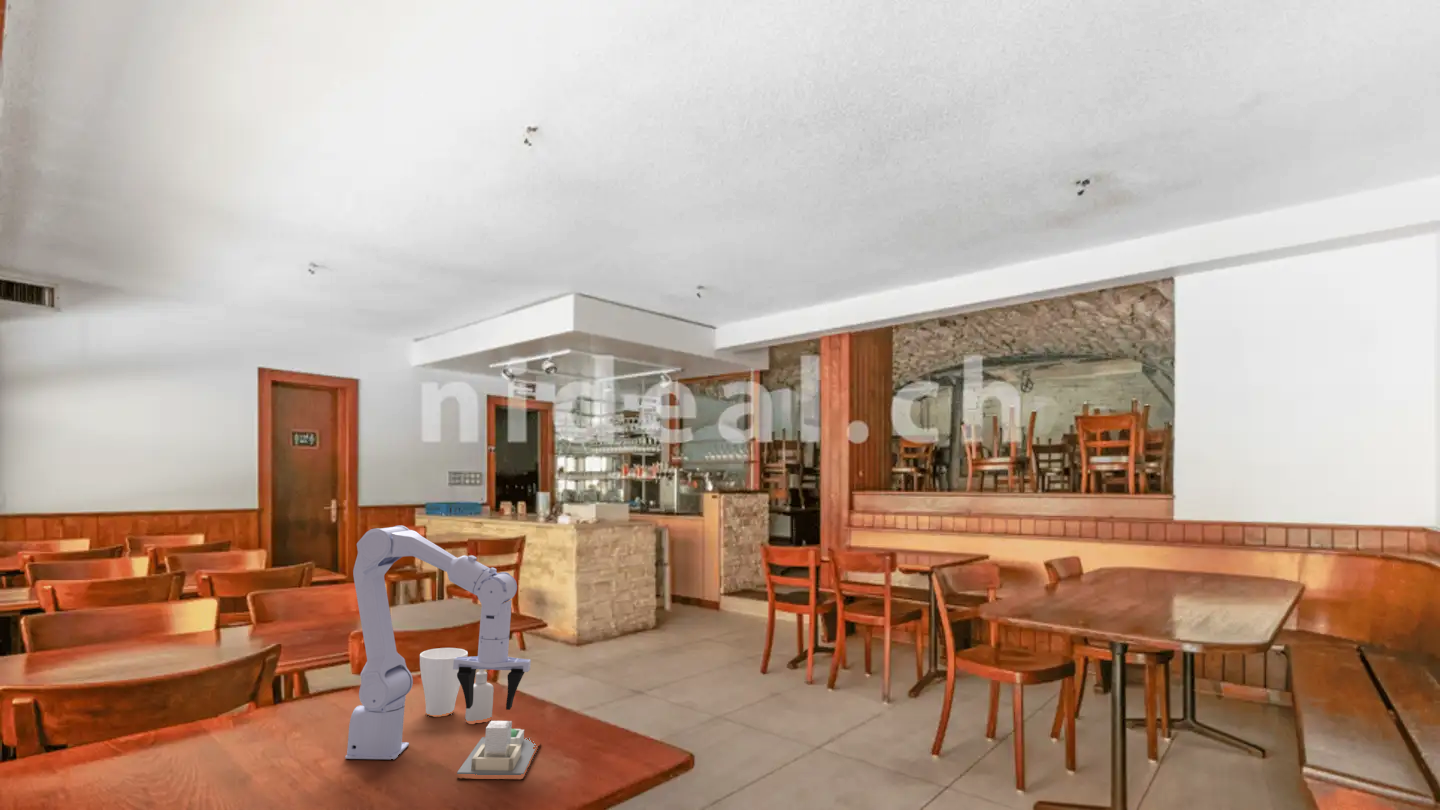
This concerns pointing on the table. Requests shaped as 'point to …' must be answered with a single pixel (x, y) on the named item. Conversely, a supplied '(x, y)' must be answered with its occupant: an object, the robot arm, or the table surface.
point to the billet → (498, 739)
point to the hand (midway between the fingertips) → (489, 707)
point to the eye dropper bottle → (481, 699)
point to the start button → (513, 733)
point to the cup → (440, 679)
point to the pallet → (500, 766)
